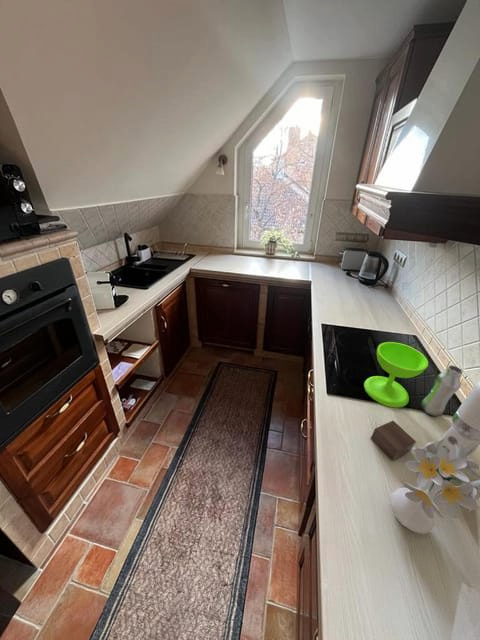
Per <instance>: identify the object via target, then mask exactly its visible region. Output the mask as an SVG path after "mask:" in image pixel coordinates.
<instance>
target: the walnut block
mask: <svg viewBox="0 0 480 640" xmlns="http://www.w3.org/2000/svg"><path fill="white" fill-rule="evenodd" d="M370 439H371V440H372V442H373V443H374V444H375V445H376V446H377V447H378V448H379V449H380V450H381V452H383V454H385V455H386V457H387V458H388V459H389V460H390V461H391V462H392V461H395V460H396V459H398V458H400V457H402V456H404V455H406V454H408V453H410V452H412V451H411V450H412V449H413V448H414V446H415V445H416V442H417V441H416V440H415V439H414V438H413V437H412V436H411V435H409V433H407V431H405V430H404V428H402V427H401V426H400V425H399V424H398V423H397V422H396V421H394V420H391V421H389V422H386V423H384V424H382V425H380V426H377V427H375V428H374V430H373V431H372V434H371V437H370Z"/></svg>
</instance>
